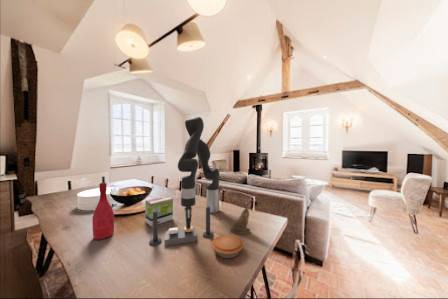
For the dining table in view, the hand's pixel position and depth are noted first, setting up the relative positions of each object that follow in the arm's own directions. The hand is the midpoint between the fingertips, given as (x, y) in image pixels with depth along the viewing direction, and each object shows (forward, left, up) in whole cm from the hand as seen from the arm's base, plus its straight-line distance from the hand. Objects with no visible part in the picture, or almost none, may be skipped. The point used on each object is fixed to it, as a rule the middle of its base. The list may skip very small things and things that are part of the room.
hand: (188, 227), depth 89 cm
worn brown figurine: (-30, -1, -7) cm, 31 cm away
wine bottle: (+46, -16, -7) cm, 49 cm away
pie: (-18, +14, -7) cm, 24 cm away
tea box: (+18, -28, -7) cm, 34 cm away
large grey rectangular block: (+4, -2, -7) cm, 8 cm away
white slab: (+8, -2, -2) cm, 8 cm away
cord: (+17, -2, -7) cm, 18 cm away
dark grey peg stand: (-11, -2, -7) cm, 13 cm away
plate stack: (+72, -74, -7) cm, 104 cm away
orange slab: (0, -2, -2) cm, 3 cm away
